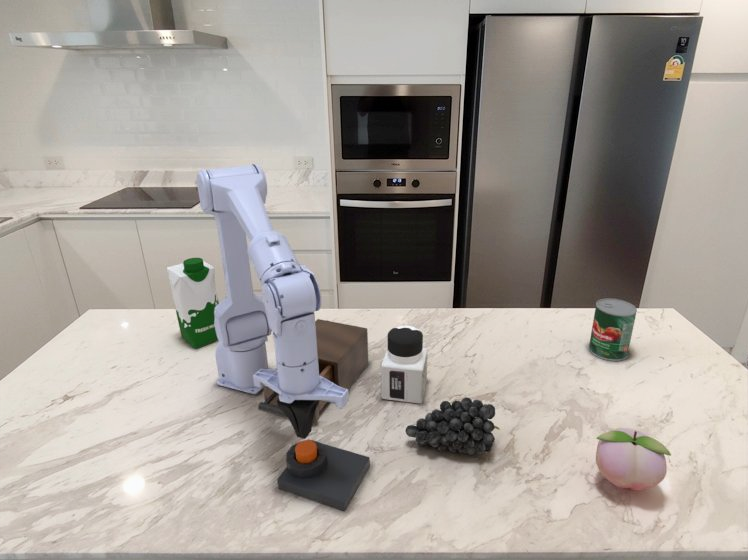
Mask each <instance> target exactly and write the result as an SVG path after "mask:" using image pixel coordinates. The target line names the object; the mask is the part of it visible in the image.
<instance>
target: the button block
mask: <svg viewBox="0 0 748 560" xmlns="http://www.w3.org/2000/svg"><path fill="white" fill-rule="evenodd" d="M307 440H311V441H313V442H315V444H316V446H317V458H316V460H315V461H313V462H311V463H308V464H302V463H299V462H298V461H297V460H296V452H295V447H296V445H297V444H298V443H299V442H297V443H295V444H292V445H291V446H290V448H289V449H288V450H287V452H286V454H285V463H286V467H285V468H284V470H282V473H281V474H280V475H279V476H278V477H277V479H276V481H277V488H278V490H282V491H283V492H287V493H290V494H293V495H296V496H298V497H302V498H305V499H307V500H310V501H313V502H317V503H319V504H322V505H326V506H329V507H331V508H334V509H337V510H340V511H342V512H346V510H347V508H348V506H349V504H350V503H351V500H352V499H353V497H354V495H355V493H356V492H357V490H358V488H359V486H360V485H361V483H362V481H363V479H364V477H365V476H366V475H367V472H368V470H369V469H370V466H371V464H370V462H371V461H370V456H366V455H365V454H359V453H356V452H354V451H349V450H347V449H343V448H339V447H337V446H333V445H329V444H325V443H322V442H320V441H316V440H312V439H307Z"/></svg>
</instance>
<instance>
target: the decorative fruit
mask: <svg viewBox="0 0 748 560" xmlns="http://www.w3.org/2000/svg"><path fill="white" fill-rule="evenodd" d="M596 440H598V441H597V446H596V451H595V463H596V467H597V469H598V471H599V472H600V474H601V475H602V476H603V477H604V478H605V479H606V480H607V481H608V482H609V483H611V484H612V485H614V486H616V487H617V488H620V489H630V490H632V491H645V490H648V489H651V488H654V487H656V486H658V485H659V484H661V482H663V481H664V480H665V478H666V475H667V471H668V470H667V469H668V468H667V459H666V456H672V454H671V452H670V451H669V449H668V448H667V447H666V446H665V445H664V444H663V443H661V442H660V441H659V440H657V439H655V438H654V437H650V436H649V435H647V434H646V433H644V432H642V431H640V430H637V429H633V428H628V427H627V428H626V427H619V428H613V429H610V430H608V431H606V432H603V433H602V434H600V435H599V436H597V437H596ZM665 455H666V456H665Z"/></svg>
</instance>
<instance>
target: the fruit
mask: <svg viewBox="0 0 748 560" xmlns="http://www.w3.org/2000/svg"><path fill="white" fill-rule="evenodd" d="M495 416H496V407H495V406H494V405H493V404H492V403H491V404H490V403H488V404H487V403H483V402H482V400H479V399H474V400H472V399H471V398H470V397H463V398H462V399H461V401H460V400H454V401H452V402H449V400H443V401H442V402H441V403H440V404H439V409H437V408H435V409H433V410H432V411H431V412H427V413H426V415H425V417H424V418H419V419H417V421H416V424H415V425H413V424H410V425H407V426H406V428H405V435H407V437H410V438H415V443H416V445H418V446H419V447H421V448H422V447H425V446H426V445H430V447H433V448H437V449H438V451H440V452H446V451H447V449H449V451H450V452H452V453H455V452H457V451H458V452H459V453H461V454H468V455H470V456H471V455H474V454H475V453H477V454H479V455H481V454H484V453H490V452H492V450H493V446H494V443H495V439H496V438H495V436H494V434H493V433H492V432H493V431H494V430H495V429H496V430H499V431H500V430H501V429H500V427H499V426H497V425H495V424H494V422H493V421H492V420H493V418H495Z"/></svg>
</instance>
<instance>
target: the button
mask: <svg viewBox="0 0 748 560" xmlns="http://www.w3.org/2000/svg"><path fill="white" fill-rule="evenodd" d="M311 440H312V439H309V440H308V439H303V440H300V441H298V442H297V443H298V444H297V443H296V444H297V445H296V447H295V452H296V460H297V461H298V462H299V463H302V464H308V463H311V462H313V461H315V460H316V458H317V446H316V444H315V442H313V441H314V440H313V441H311Z"/></svg>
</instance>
